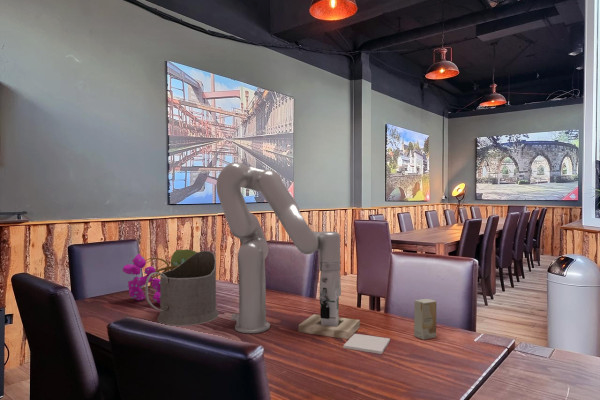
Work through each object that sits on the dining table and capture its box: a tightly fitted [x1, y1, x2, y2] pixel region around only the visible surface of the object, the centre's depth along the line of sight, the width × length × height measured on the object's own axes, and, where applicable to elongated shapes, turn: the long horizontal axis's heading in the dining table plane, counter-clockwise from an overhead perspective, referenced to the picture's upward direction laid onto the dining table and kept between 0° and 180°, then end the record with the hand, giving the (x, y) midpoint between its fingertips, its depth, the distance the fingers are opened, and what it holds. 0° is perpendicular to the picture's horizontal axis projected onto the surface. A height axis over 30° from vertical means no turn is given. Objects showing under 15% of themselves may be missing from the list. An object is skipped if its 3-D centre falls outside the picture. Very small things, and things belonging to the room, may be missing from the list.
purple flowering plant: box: [122, 248, 198, 305], centre depth 186 cm, size 30×28×35 cm
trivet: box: [342, 333, 391, 355], centre depth 126 cm, size 12×12×1 cm
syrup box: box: [321, 290, 340, 327], centre depth 141 cm, size 6×6×14 cm
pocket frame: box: [298, 313, 361, 340], centre depth 141 cm, size 18×14×2 cm
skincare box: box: [413, 298, 437, 340], centre depth 133 cm, size 6×4×12 cm
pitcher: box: [144, 250, 220, 327], centre depth 153 cm, size 23×32×25 cm
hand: (329, 314), depth 141 cm, fingers open, 9 cm apart
